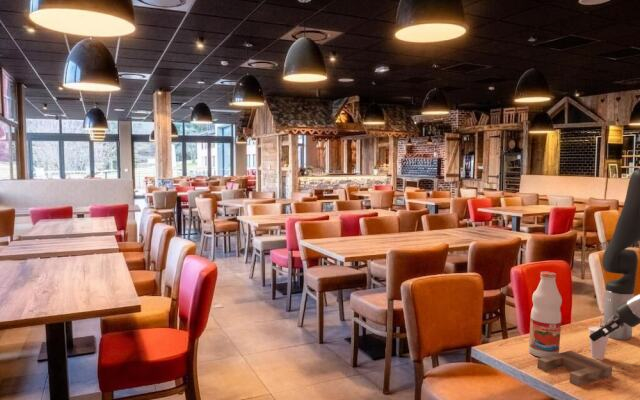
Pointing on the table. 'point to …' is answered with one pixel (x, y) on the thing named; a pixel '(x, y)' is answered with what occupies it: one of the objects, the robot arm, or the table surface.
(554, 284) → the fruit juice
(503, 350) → the table surface
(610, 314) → the robot arm
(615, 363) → the table surface
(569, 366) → the notched board
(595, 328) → the smoothie
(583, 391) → the table surface
